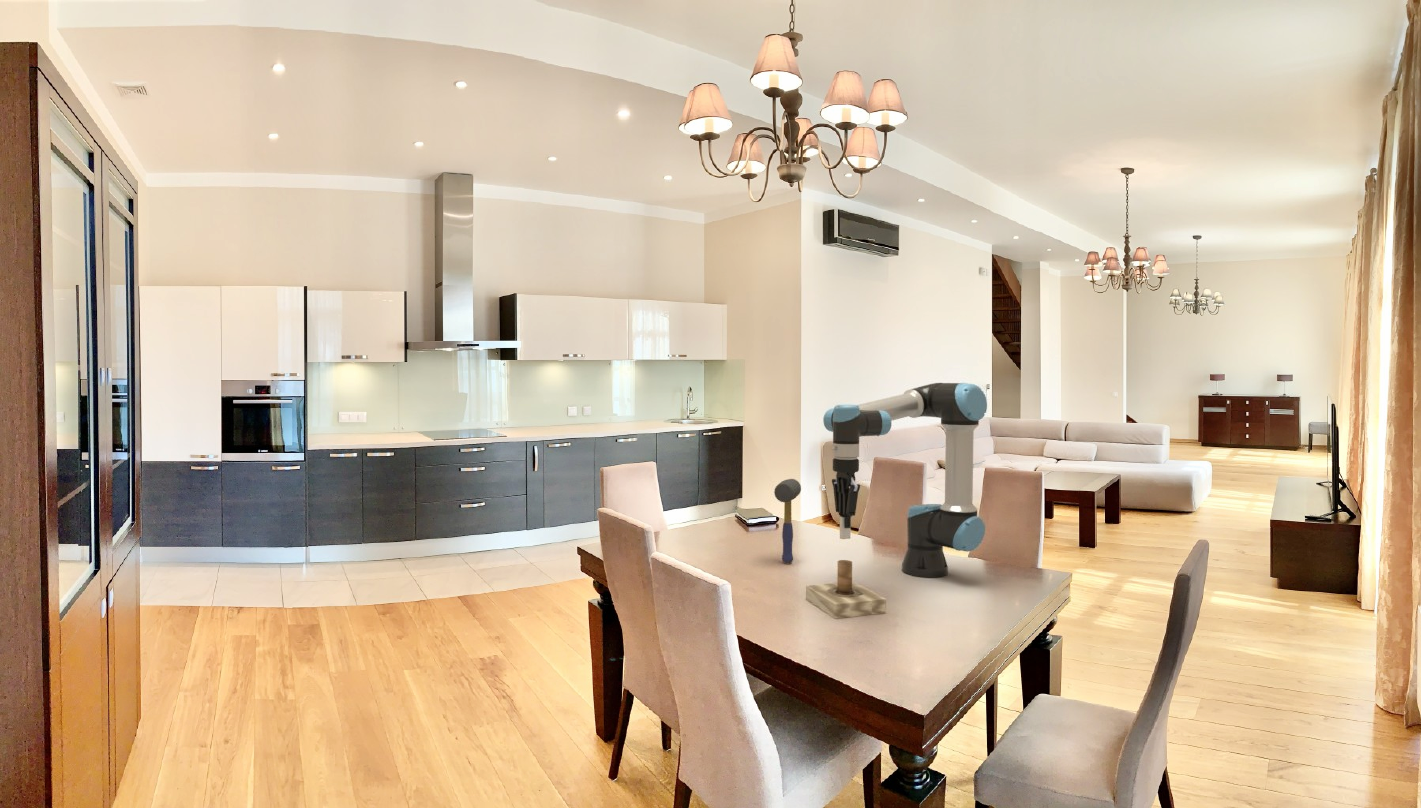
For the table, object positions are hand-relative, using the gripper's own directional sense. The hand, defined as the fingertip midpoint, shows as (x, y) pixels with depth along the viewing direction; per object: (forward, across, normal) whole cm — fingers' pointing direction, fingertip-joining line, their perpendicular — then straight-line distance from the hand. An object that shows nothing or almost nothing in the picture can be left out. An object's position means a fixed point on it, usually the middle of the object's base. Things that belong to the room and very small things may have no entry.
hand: (845, 538), depth 222 cm
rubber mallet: (+20, -50, +4) cm, 54 cm away
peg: (+20, 0, 0) cm, 20 cm away
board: (+20, 0, 0) cm, 20 cm away
